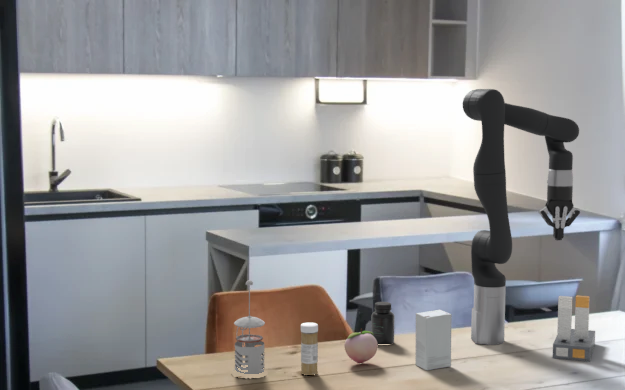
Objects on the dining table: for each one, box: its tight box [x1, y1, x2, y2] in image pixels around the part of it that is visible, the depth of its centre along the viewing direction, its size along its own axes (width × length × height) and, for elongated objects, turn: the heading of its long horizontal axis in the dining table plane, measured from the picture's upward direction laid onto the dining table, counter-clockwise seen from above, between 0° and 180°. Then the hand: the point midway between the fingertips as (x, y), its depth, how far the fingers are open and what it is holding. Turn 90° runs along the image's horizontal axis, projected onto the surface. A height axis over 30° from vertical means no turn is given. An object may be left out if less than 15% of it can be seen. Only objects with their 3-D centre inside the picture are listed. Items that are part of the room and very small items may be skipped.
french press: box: [233, 279, 266, 374], centre depth 243 cm, size 10×12×25 cm
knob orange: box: [574, 294, 590, 339], centre depth 263 cm, size 2×4×12 cm, turn 69°
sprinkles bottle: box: [300, 321, 319, 376], centre depth 243 cm, size 5×5×13 cm
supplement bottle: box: [370, 301, 395, 345], centre depth 274 cm, size 7×7×12 cm
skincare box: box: [415, 309, 452, 371], centre depth 250 cm, size 8×6×15 cm
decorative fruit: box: [344, 328, 379, 364], centre depth 252 cm, size 9×8×10 cm
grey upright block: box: [556, 295, 573, 340], centre depth 262 cm, size 2×4×12 cm, turn 69°
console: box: [552, 328, 596, 363], centre depth 267 cm, size 20×10×4 cm, turn 159°
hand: (558, 240), depth 286 cm, fingers closed
